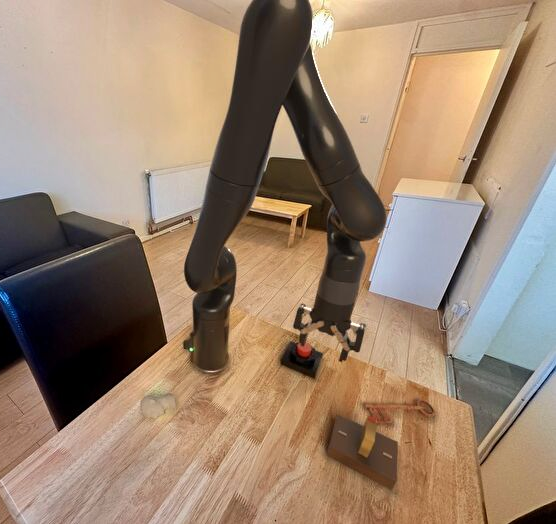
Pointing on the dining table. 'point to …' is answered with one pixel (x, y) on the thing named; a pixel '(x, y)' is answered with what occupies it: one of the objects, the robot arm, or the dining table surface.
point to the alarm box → (301, 360)
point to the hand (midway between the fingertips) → (321, 351)
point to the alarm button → (304, 350)
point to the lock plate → (346, 452)
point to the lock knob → (367, 436)
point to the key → (383, 406)
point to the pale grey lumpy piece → (156, 405)
